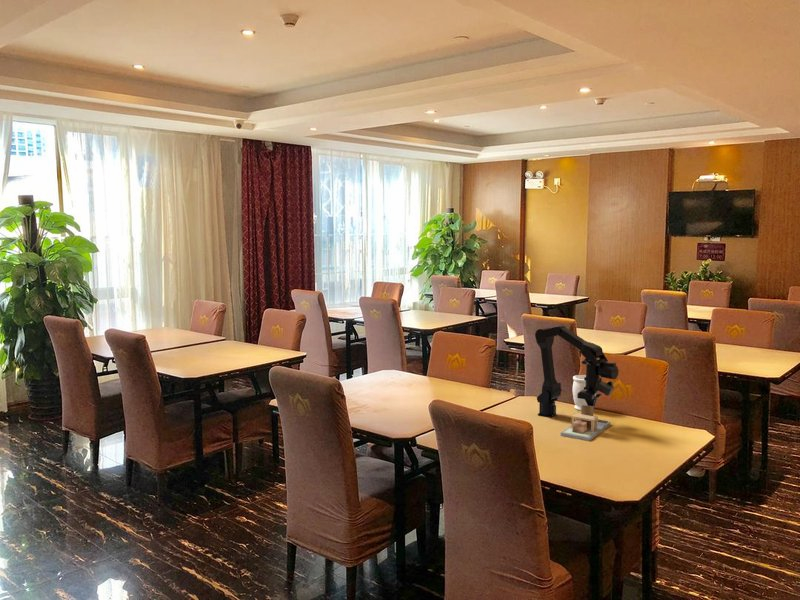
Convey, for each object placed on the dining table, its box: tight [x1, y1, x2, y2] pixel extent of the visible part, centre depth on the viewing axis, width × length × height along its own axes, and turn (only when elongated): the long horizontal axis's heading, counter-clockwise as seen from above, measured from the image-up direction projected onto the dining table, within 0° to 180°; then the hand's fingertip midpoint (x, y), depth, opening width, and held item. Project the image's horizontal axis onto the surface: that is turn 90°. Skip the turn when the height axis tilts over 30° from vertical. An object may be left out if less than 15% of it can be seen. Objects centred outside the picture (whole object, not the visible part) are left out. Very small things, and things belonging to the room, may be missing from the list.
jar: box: [572, 374, 588, 411], centre depth 302 cm, size 11×10×15 cm
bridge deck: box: [560, 412, 611, 442], centre depth 272 cm, size 12×26×6 cm, turn 144°
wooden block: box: [572, 405, 595, 434], centre depth 268 cm, size 5×11×9 cm, turn 144°
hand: (591, 411), depth 277 cm, fingers closed
